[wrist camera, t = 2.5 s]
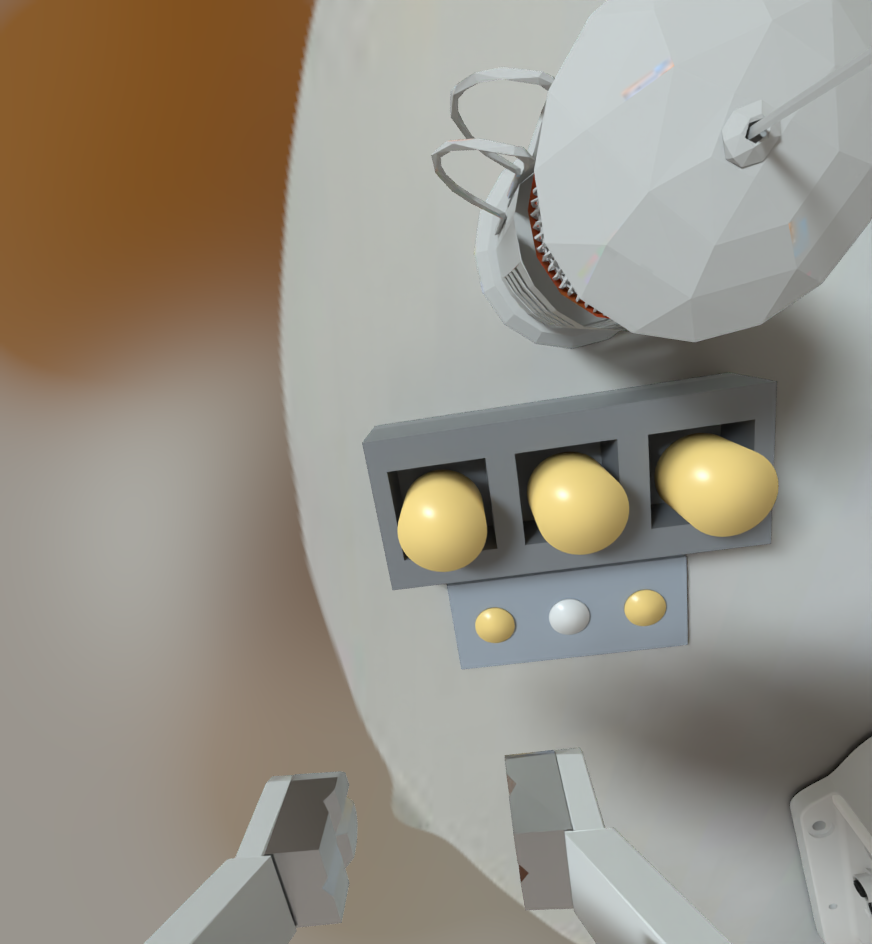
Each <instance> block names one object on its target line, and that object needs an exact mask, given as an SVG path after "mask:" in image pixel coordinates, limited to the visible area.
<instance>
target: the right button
mask: <svg viewBox="0 0 872 944" xmlns="http://www.w3.org/2000/svg"><path fill="white" fill-rule="evenodd" d="M654 481H655V487H656V490H657V492H658V494H659V496H660V497H661V498H662V500H663V501H664V502H665V503H667V504H668V505H669V506H670V507H671V508H672V509H674V510H675V511H676V512H677V513H678V514H679V515H681V516H682V517H683V518H684V519H685V520H686V521H688V522H689V523H690V524H691V525H692V526H693V527H695V528H696V529H697V530H699V531H701V532H703V533H705V534H708V535H711V536H717V537H727V536H734V535H738V534H741V533H744V532H746V531H748V530H750V529H752V528H753V527H755V526H756V525H758V524H759V523H760V522H761V521H762V520H763V519H764V518H765V517H766V516H767V515H768V513H769V512H770V511H771V509H772V507H773V505H774V503H775V501H776V498H777V494H778V478H777V474H776V471H775V469H774V467H773V466H772V464H771V463H770V462H769V461H768V460H767V459H766V458H765V457H764V456H762V455H761V454H759V453H757V452H755V451H753V450H750V449H748V448H746V447H743V446H741V445H739V444H736V443H734V442H732V441H730V440H727V439H725V438H723V437H720V436H718V435H715V434H711V433H694V434H690V435H687V436H684V437H682V438H680V439H678V440H676V441H675V442H673V443H672V444H671V445H670V446H669V447H668V448H667V449H666V450H665V451H664V452H663V453H662V455H661V457H660V458H659V460H658V462H657V465H656V468H655V473H654Z"/></svg>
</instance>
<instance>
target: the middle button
mask: <svg viewBox="0 0 872 944" xmlns="http://www.w3.org/2000/svg"><path fill="white" fill-rule="evenodd" d="M527 499H528V503H529V506H530V508H531V511H532V513H533V516H534V518H535V521H536V523H537V526H538V528H539V530H540V532H541V534H542V536H543V537H544V539H545V540H546V541H547V542H548V543H549V544H550V545H552V546H553V547H554V548H556V549H558V550H560V551H562V552H565V553H568V554H575V555H584V554H590V553H594V552H597V551H600V550H602V549H604V548H606V547H607V546H609V545H610V544H612V543H613V542H614V541H615V540H616V539H617V538H618V537H619V536H620V534H621V533H622V531H623V530H624V528H625V526H626V523H627V520H628V516H629V501H628V498H627V495H626V493H625V491H624V489H623V487H622V486H621V485H620V484H619V482H618V481H617V480H616V479H615V478H614V477H613V476H612V475H610V474H609V473H608V472H607V471H606V470H605V469H604V468H603V467H602V466H601V465H600V464H599V463H598V462H597V461H596V460H595V459H593V458H592V457H590V456H588V455H586V454H583V453H579V452H570V451H569V452H561V453H557V454H554V455H552V456H550V457H548V458H546V459H545V460H543V461H542V462H541V463H540V464H539V465H538V466H537V467H536V468H535V469H534V471H533V472H532V474H531V476H530V478H529V481H528V485H527Z"/></svg>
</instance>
